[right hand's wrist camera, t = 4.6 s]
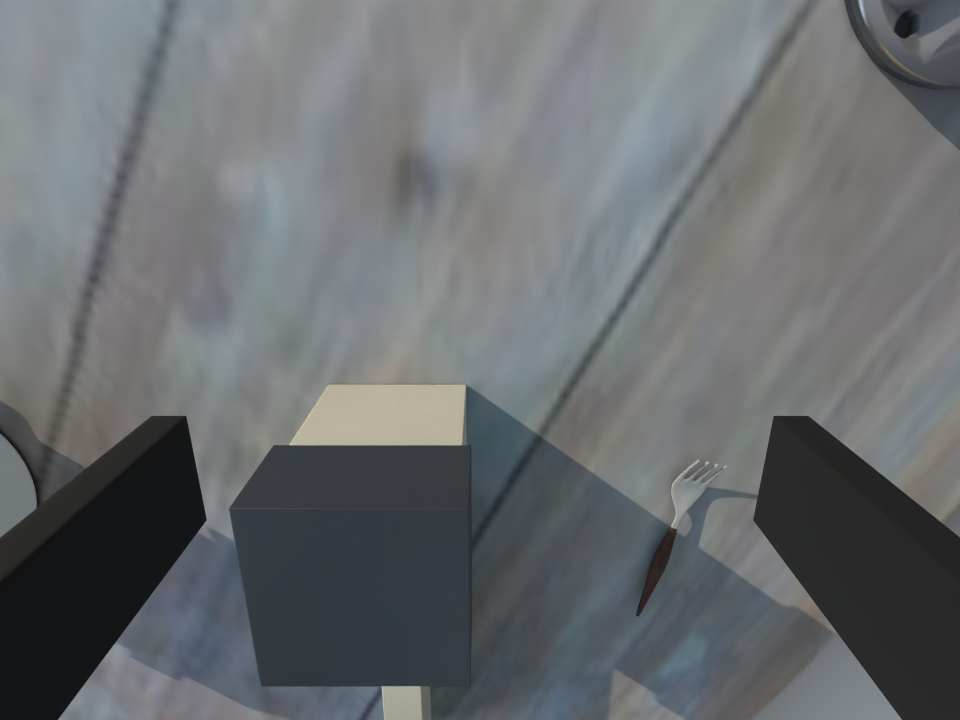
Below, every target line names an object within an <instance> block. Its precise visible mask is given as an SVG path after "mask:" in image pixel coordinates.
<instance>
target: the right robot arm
mask: <svg viewBox="0 0 960 720" xmlns="http://www.w3.org/2000/svg"><path fill="white" fill-rule="evenodd" d="M845 4H846V9H847V13H848V16H849V19H850V22H851V25H852V27H853V30H854V32H855V34H856V36H857V38H858V40H859V41H860V43H861V45H862V46H863V48H864V49H865V51H866V52H867V53H868V54H869V56H870V57H871V58H872V59H873V60H874V61H875V62H876V63H877V64H878V65H879V66H880V67H881V68H883V69H884V70H885V71H887V72H888V73H889V74H891V75H893V76H895V77H896V78H898V79H900V80H902V81H905V82H907V83H910V84H913V85H916V86H920V87H926V88H932V89H956V88H960V0H845ZM206 520H207V519H206V514H205V509H204V504H203V499H202V494H201V489H200V484H199V479H198V474H197V469H196V463H195V458H194V453H193V448H192V443H191V438H190V433H189V428H188V423H187V418H186V416H151V417H150V418H149V419H148V420H146V421H145V422H144V423H143V424H141V425H140V426H139V427H138V428H136V429H135V430H134V431H133V432H131V433H130V434H129V435H128V436H126V437H125V438H124V439H123V440H121V441H120V442H119V443H118V444H116V445H115V446H114V447H113V448H111V449H110V450H109V451H108V452H106V453H105V454H104V455H103V456H101V457H100V458H99V459H98V460H96V461H95V462H94V463H93V464H91V465H90V466H89V467H88V468H86V469H85V470H84V471H83V472H81V473H80V474H79V475H78V476H76V477H75V478H74V479H73V480H71V481H70V482H69V483H68V484H66V485H65V486H64V487H63V488H61V489H60V490H59V491H58V492H56V493H55V494H54V495H53V496H51V497H50V498H49V499H48V500H46V501H45V502H44V503H43V504H41V505H40V506H39V507H38V508H36V509H35V510H34V511H33V512H31V513H30V514H29V515H28V516H26V517H25V518H24V519H23V520H21V521H20V522H19V523H18V524H16V525H15V526H14V527H13V528H11V529H10V530H9V531H8V532H6V533H5V534H4V535H3V536H1V537H0V720H58V719H59V717H60V716H61V715H62V713H63V712H64V711H65V709H66V708H67V707H68V705H69V704H70V703H71V701H72V700H73V699H74V697H75V696H76V695H77V693H78V692H79V691H80V689H81V688H82V687H83V685H84V684H85V683H86V681H87V680H88V679H89V677H90V676H91V674H92V673H93V672H94V670H95V669H96V668H97V666H98V665H99V664H100V662H101V661H102V660H103V658H104V657H105V656H106V654H107V653H108V652H109V650H110V649H111V648H112V646H113V645H114V644H115V642H116V641H117V640H118V638H119V637H120V636H121V634H122V633H123V632H124V630H125V629H126V628H127V626H128V625H129V623H130V622H131V621H132V619H133V618H134V617H135V615H136V614H137V613H138V611H139V610H140V609H141V607H142V606H143V605H144V603H145V602H146V601H147V599H148V598H149V597H150V595H151V594H152V593H153V591H154V590H155V589H156V587H157V586H158V585H159V583H160V582H161V581H162V579H163V578H164V577H165V575H166V574H167V572H168V571H169V570H170V568H171V567H172V566H173V564H174V563H175V562H176V560H177V559H178V558H179V556H180V555H181V554H182V552H183V551H184V550H185V548H186V547H187V546H188V544H189V543H190V542H191V540H192V539H193V538H194V536H195V535H196V534H197V532H198V531H199V530H200V528H201V527H202V526H203V524H204V523H205V522H206ZM753 520H754V522H755V523H756V524H757V526H758V527H759V528H760V530H761V531H762V532H763V534H764V535H765V536H766V538H767V539H768V540H769V542H770V543H771V544H772V546H773V547H774V548H775V550H776V551H777V552H778V554H779V555H780V556H781V558H782V559H783V560H784V562H785V563H786V564H787V566H788V567H789V568H790V570H791V571H792V572H793V574H794V575H795V577H796V578H797V579H798V581H799V582H800V583H801V585H802V586H803V587H804V589H805V590H806V591H807V593H808V594H809V595H810V597H811V598H812V599H813V601H814V602H815V603H816V605H817V606H818V607H819V609H820V610H821V611H822V613H823V614H824V615H825V617H826V618H827V619H828V621H829V622H830V623H831V625H832V626H833V628H834V629H835V630H836V632H837V633H838V634H839V636H840V637H841V638H842V640H843V641H844V642H845V644H846V645H847V646H848V648H849V649H850V650H851V652H852V653H853V654H854V656H855V657H856V658H857V660H858V661H859V662H860V664H861V665H862V666H863V668H864V669H865V670H866V672H867V673H868V674H869V676H870V677H871V678H872V680H873V681H874V683H875V684H876V685H877V687H878V688H879V689H880V691H881V692H882V693H883V695H884V696H885V697H886V699H887V700H888V701H889V703H890V704H891V705H892V707H893V708H894V709H895V711H896V712H897V713H898V715H899V716H900V717H901V719H902V720H960V537H958V536H957V535H956V534H955V533H953V532H952V531H951V530H950V529H949V528H947V527H946V526H945V525H944V524H942V523H941V522H940V521H939V520H937V519H936V518H935V517H934V516H932V515H931V514H930V513H929V512H927V511H926V510H925V509H924V508H922V507H921V506H920V505H919V504H917V503H916V502H915V501H914V500H912V499H911V498H910V497H909V496H907V495H906V494H905V493H904V492H902V491H901V490H900V489H899V488H897V487H896V486H895V485H894V484H892V483H891V482H890V481H889V480H887V479H886V478H885V477H884V476H882V475H881V474H880V473H879V472H877V471H876V470H875V469H874V468H872V467H871V466H870V465H869V464H867V463H866V462H865V461H864V460H862V459H861V458H860V457H859V456H857V455H856V454H855V453H854V452H852V451H851V450H850V449H849V448H847V447H846V446H845V445H844V444H842V443H841V442H840V441H839V440H837V439H836V438H835V437H834V436H832V435H831V434H830V433H829V432H827V431H826V430H825V429H824V428H822V427H821V426H820V425H819V424H817V423H816V422H815V421H814V420H812V419H811V418H810V417H809V416H774V418H773V423H772V428H771V433H770V438H769V443H768V448H767V453H766V458H765V463H764V469H763V474H762V479H761V484H760V489H759V494H758V499H757V504H756V509H755V514H754V519H753Z"/></svg>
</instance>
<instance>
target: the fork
mask: <svg viewBox="0 0 960 720" xmlns="http://www.w3.org/2000/svg"><path fill="white" fill-rule="evenodd" d="M698 462H700V460H699V459H698V460H697V461H696V462H694V463H693V464H692V465H691V466H689V467H688V468H687V469H686V470H685V471H684V472H683V473H682V474H681V475H680V476H679V477H678V478H677V479H676V480H675V481H674V482H673V484H672V487H671V495H672V499H673V503H674V506H675V511H676V516H675V519H674V521H673V523H672V525H671V527H670V529H669V530H668V532H667V534H666V535H665V537H664V539H663V541H662V542H661V544H660V546H659V548H658V549H657V551H656V553H655V555H654V557H653V560H652V562H651V565H650V569H649V572H648V576H647V580H646V583H645V587H644V590H643V593H642V596H641V599H640V603H639V606H638V609H637V613H636V616H639V615H640V613H641V612H642V610H643V608H644V607H645V605H646V603H647V601H648V599H649V597H650V595H651V593H652V592H653V590H654V588H655V586H656V584H657V583H658V581H659V579H660V577H661V576H662V574H663V572H664V570H665V568H666V565H667V563H668V560H669V557H670V553H671V550H672V546H673V542H674V539H675V535H676V531H677V528H678V525H679V522H680V519H681V518H682V516H683V515H684V513H685V512H686V511H687V510H688V509H689V508H690V507H691V506H692V505H693V504H694V503H695V502H696V500H697V499H698V498H699V497H700V496H701V495H702V494H703V492H704V491H705V490H706V488H707V487H708V485H709V484H710V483H711V482H712V480H713V479H714V478H715V477H717V476H718V475H719V474H720V473H721V472H722V471H723V470H724V469H726V468H727V465H726V466H724V467H723V468H721V469H720V470H719V471H717V472H716V473H715V474H713V475H712V476H711V477H710V478H709V479H707V480H706V481H704V482H702V480H703V479H704V478H705V477H706V476H707V475H708V474H709V473H710V472H711V471H712V470H713V469H714V468H715V467H717V466H718V463H717V464H715V465H714V466H712V467H711V468H710V469H708V470H707V471H706V472H705V473H703V474H702V475H701V476H700V477H699V478H697V479H696V480H693V479H694V477H695V476H696V475H697V474H698V473H699V472H700V471H701V470H702V469H703V468H704V467H705V466H706V465H707V464H709V462H706V463H705V464H703V465H702V466H701V467H700V468H698V469H697V470H696V471H695V472H694V473H692V474H691V475H690V476H689V477H687V478H684V477H685V476H686V474H687V473H688V472H689V471H690V470H691V469H692V468H693V467H694V466H695V465H696V464H697V463H698Z"/></svg>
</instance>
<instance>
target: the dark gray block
mask: <svg viewBox="0 0 960 720" xmlns="http://www.w3.org/2000/svg"><path fill="white" fill-rule="evenodd" d="M229 512H230V517H231V523H232V528H233V534H234V540H235V545H236V551H237V556H238V562H239V568H240V573H241V579H242V584H243V590H244V595H245V601H246V607H247V612H248V618H249V623H250V629H251V634H252V640H253V646H254V651H255V657H256V662H257V668H258V674H259V679H260V685H261V686H470V683H471V627H472V526H471V445H274V446H273V447H272V448H271V450H270V451H269V453H268V454H267V455H266V457H265V458H264V460H263V461H262V462H261V464H260V465H259V467H258V468H257V470H256V471H255V472H254V474H253V475H252V477H251V478H250V479H249V481H248V482H247V484H246V485H245V486H244V488H243V489H242V491H241V492H240V494H239V495H238V496H237V498H236V499H235V501H234V502H233V503H232V505H231V506H230V508H229Z"/></svg>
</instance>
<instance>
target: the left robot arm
mask: <svg viewBox="0 0 960 720" xmlns="http://www.w3.org/2000/svg"><path fill="white" fill-rule="evenodd" d="M36 508H37V498H36V491H35V486H34V483H33V480H32V477H31V475H30V472H29V470H28V468H27V466H26V464H25V463H24V461H23V460H22V458H21V456H20V455H19V454H18V452H17V451H16V450H15V448H14V447H13V446H12V445H11V444H10V443H9V442H8V440H7V439H6V438H5V437H4V436H3V435H2V434H1V433H0V537H1V536H3V535H4V534H5V533H6V532H8V531H9V530H10V529H11V528H13V527H14V526H15V525H16V524H18V523H19V522H20V521H21V520H23V519H24V518H25V517H26V516H28V515H29V514H30V513H31V512H33V511H34V510H35V509H36Z"/></svg>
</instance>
